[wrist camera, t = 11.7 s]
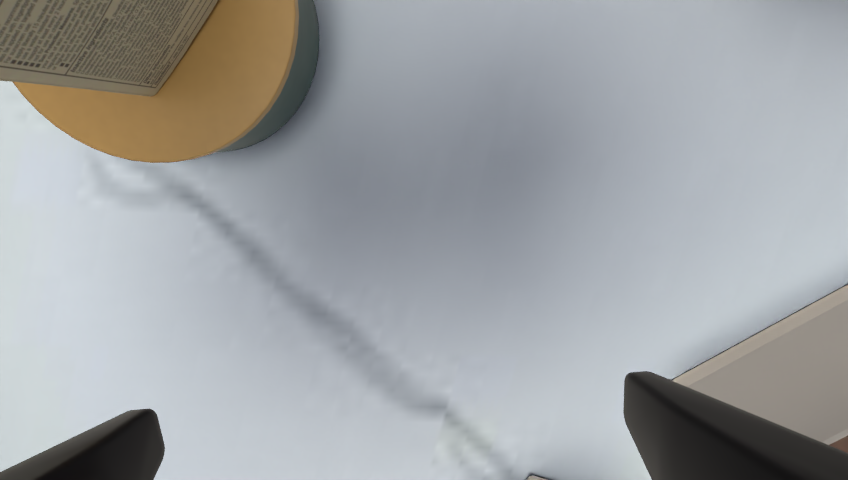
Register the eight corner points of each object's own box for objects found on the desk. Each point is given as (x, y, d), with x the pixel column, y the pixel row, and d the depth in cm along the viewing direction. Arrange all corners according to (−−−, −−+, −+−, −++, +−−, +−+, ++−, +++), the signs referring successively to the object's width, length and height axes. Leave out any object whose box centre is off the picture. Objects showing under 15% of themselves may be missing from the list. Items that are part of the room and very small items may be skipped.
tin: (306, -119, 18) (268, -204, 13) (337, 147, 20) (315, 151, 16) (47, -98, 18) (-76, -174, 13) (110, 165, 20) (23, 173, 16)
